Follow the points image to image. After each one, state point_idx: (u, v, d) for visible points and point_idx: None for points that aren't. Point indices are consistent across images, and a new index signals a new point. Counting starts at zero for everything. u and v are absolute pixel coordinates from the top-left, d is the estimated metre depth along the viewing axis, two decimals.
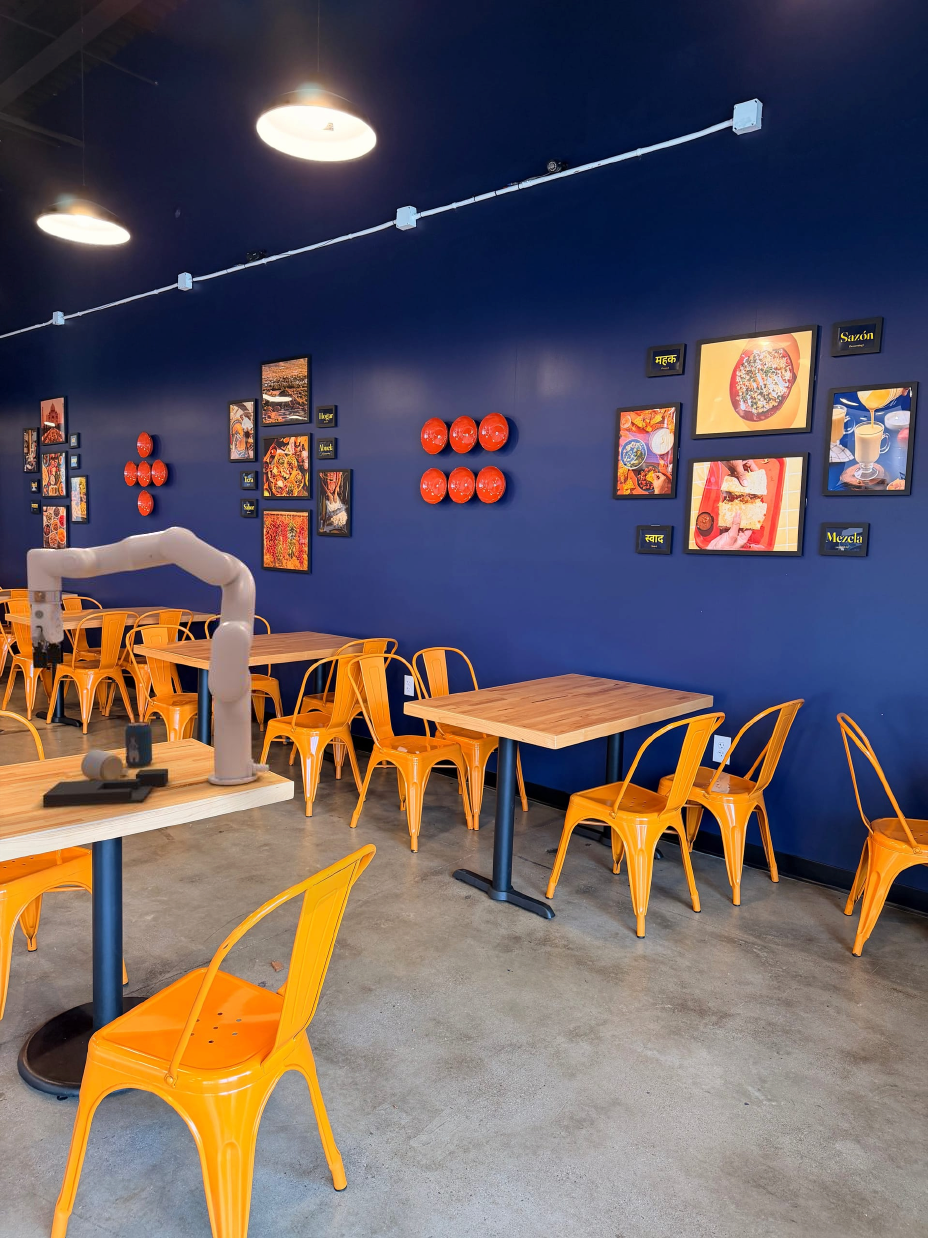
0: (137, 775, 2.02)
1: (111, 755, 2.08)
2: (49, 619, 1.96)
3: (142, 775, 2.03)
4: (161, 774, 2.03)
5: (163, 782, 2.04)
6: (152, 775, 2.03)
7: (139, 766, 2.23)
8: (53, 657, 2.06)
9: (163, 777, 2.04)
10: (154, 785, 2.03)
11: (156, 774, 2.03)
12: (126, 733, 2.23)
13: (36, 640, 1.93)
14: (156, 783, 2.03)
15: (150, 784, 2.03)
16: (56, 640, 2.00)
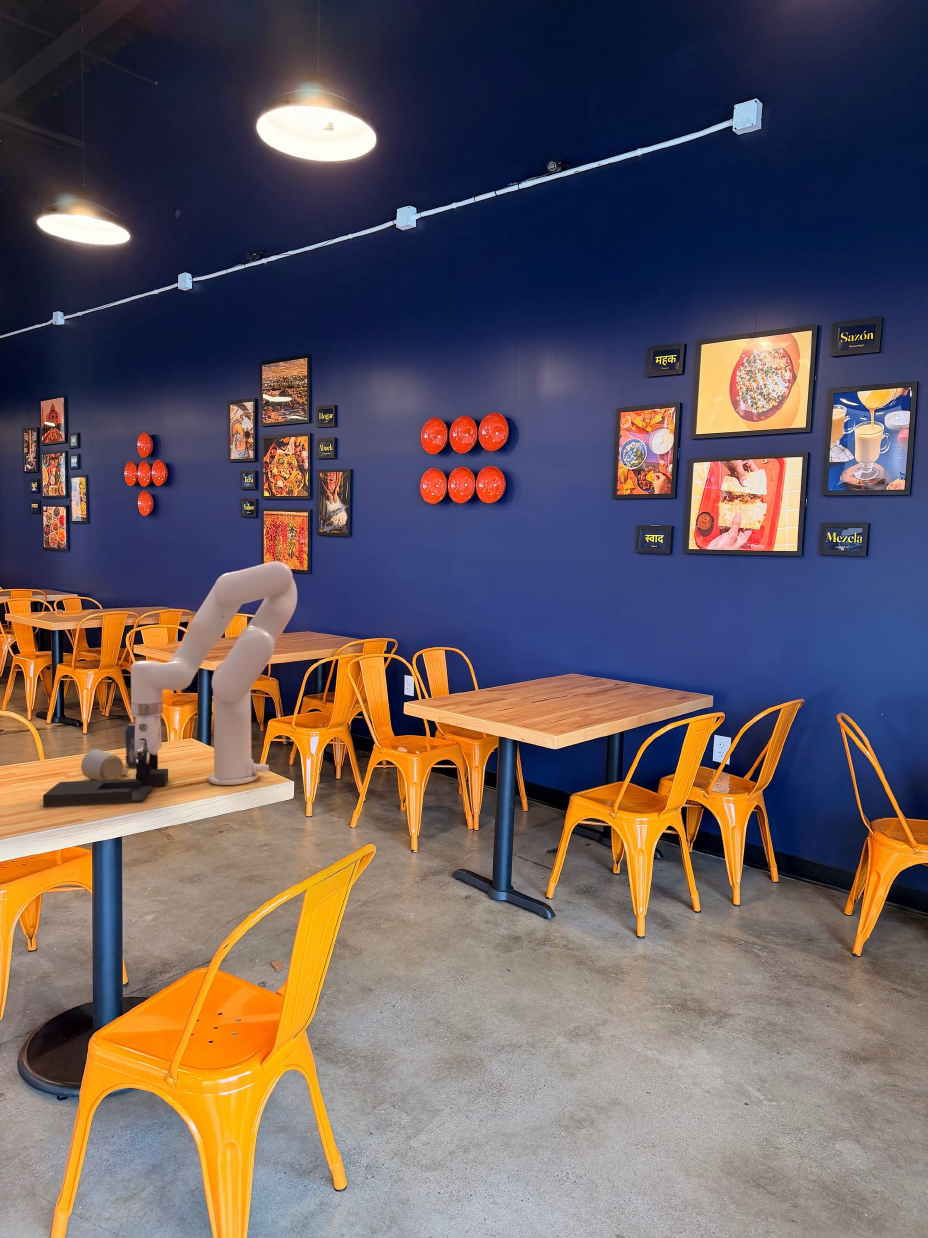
0: None
1: (111, 755, 2.08)
2: (152, 732, 2.00)
3: None
4: (161, 774, 2.03)
5: (163, 782, 2.04)
6: (152, 775, 2.03)
7: None
8: (151, 764, 2.09)
9: (163, 777, 2.04)
10: (154, 785, 2.03)
11: (156, 774, 2.03)
12: (126, 733, 2.23)
13: (141, 754, 1.97)
14: (156, 783, 2.03)
15: (150, 784, 2.03)
16: (157, 750, 2.04)
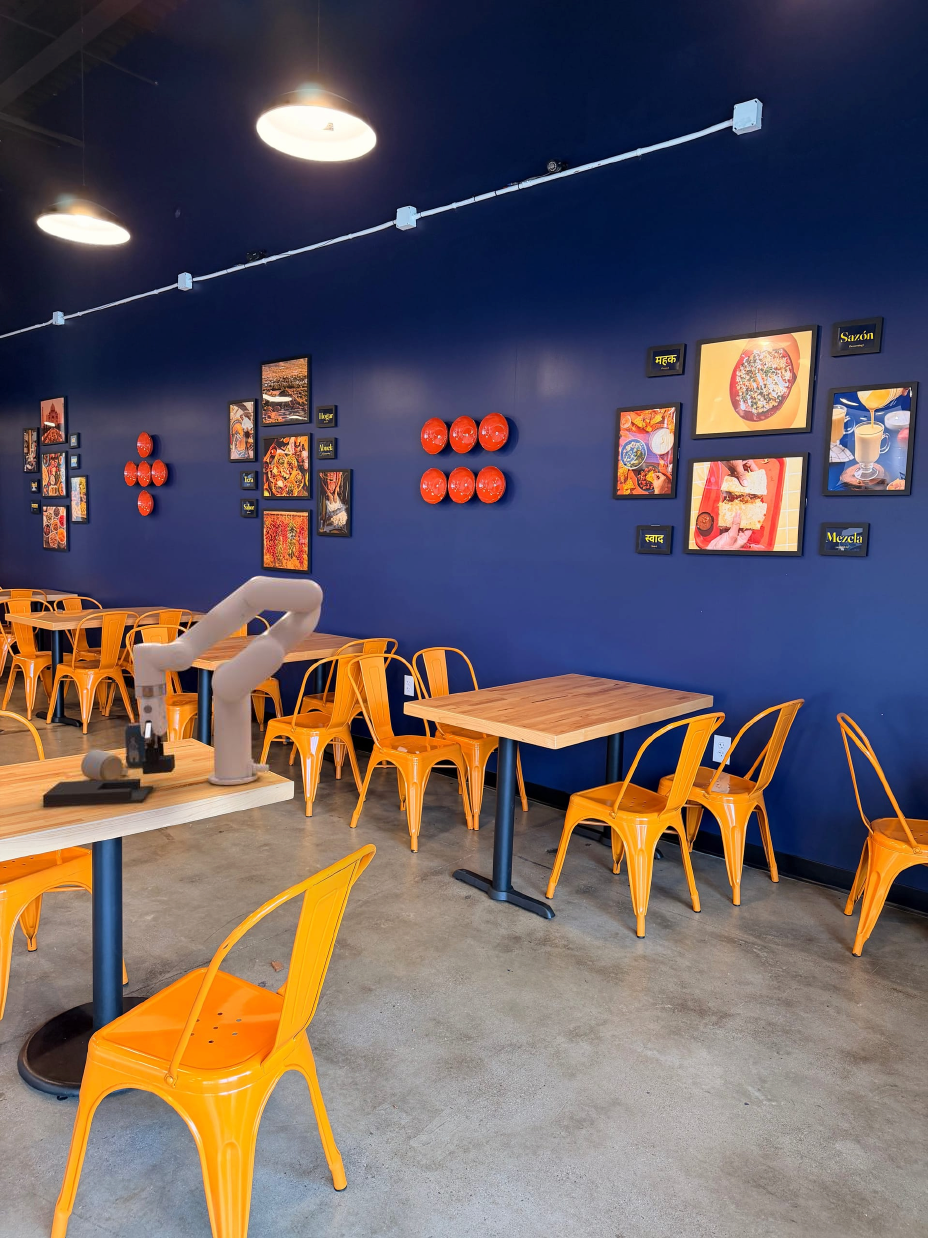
0: (143, 761, 2.03)
1: (111, 755, 2.08)
2: (157, 713, 2.00)
3: None
4: (167, 760, 2.04)
5: (170, 768, 2.04)
6: None
7: (139, 766, 2.23)
8: None
9: (170, 763, 2.04)
10: (161, 771, 2.03)
11: (162, 760, 2.03)
12: (126, 733, 2.23)
13: (149, 741, 1.99)
14: (162, 768, 2.03)
15: (157, 770, 2.03)
16: (163, 732, 2.04)
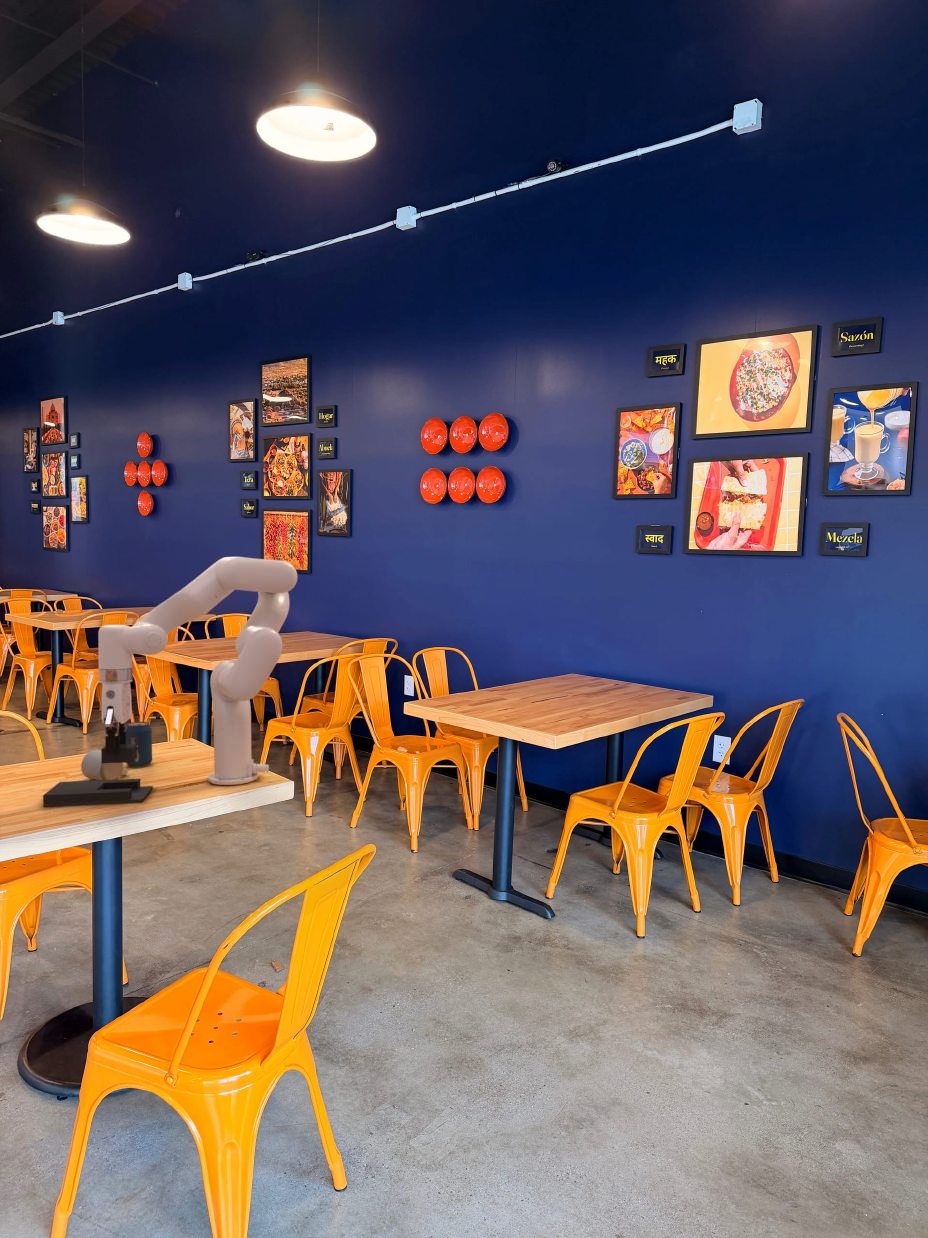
0: (103, 750, 1.91)
1: None
2: (120, 699, 1.89)
3: None
4: (128, 749, 1.92)
5: (130, 757, 1.92)
6: None
7: (139, 766, 2.23)
8: None
9: (131, 752, 1.92)
10: (121, 760, 1.92)
11: (123, 749, 1.92)
12: (126, 733, 2.23)
13: (110, 728, 1.87)
14: (123, 758, 1.92)
15: (117, 759, 1.92)
16: (126, 720, 1.93)
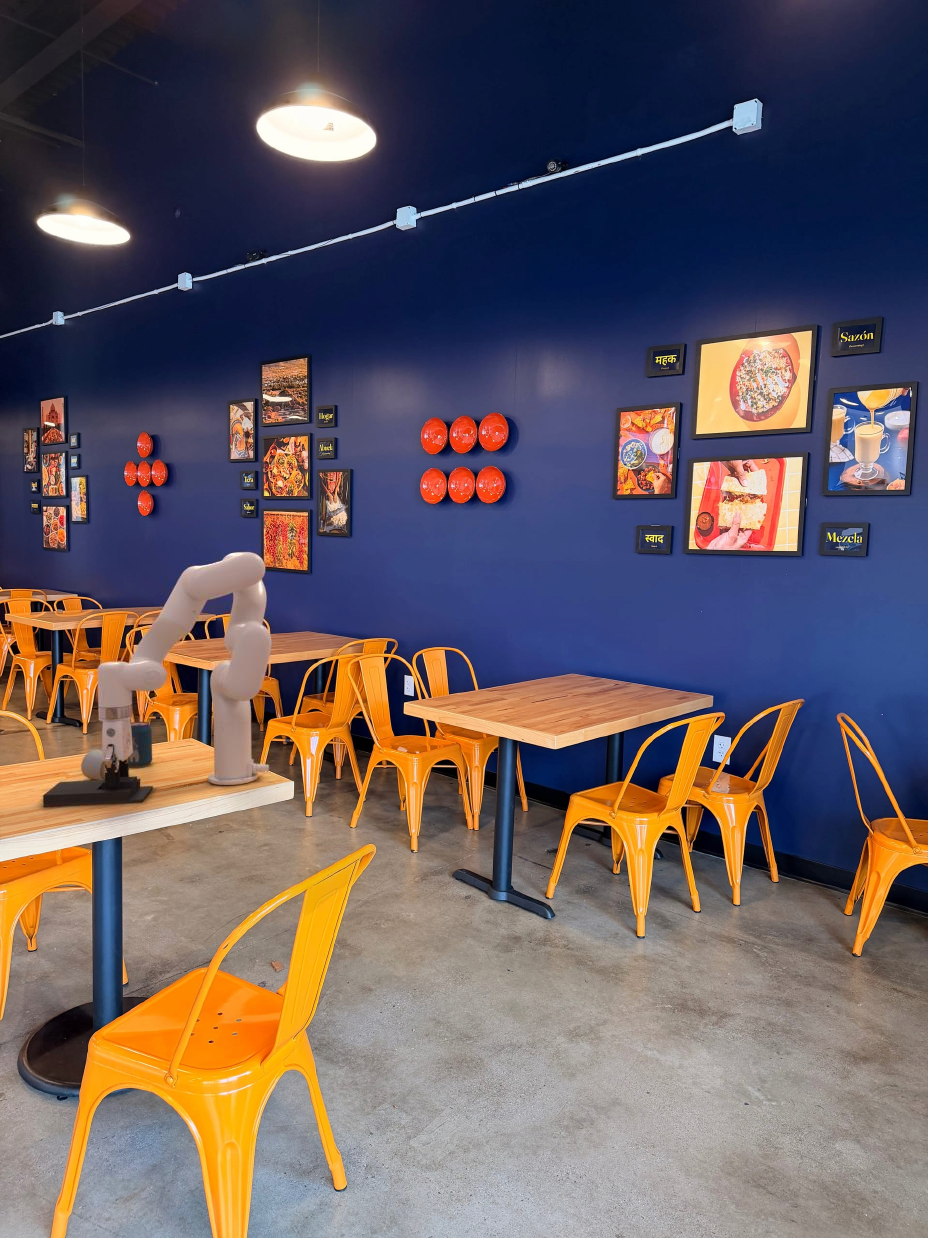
0: (103, 783, 1.91)
1: None
2: (121, 737, 1.90)
3: None
4: (129, 782, 1.92)
5: None
6: None
7: (139, 766, 2.23)
8: (121, 773, 1.98)
9: (131, 785, 1.93)
10: None
11: (123, 782, 1.92)
12: None
13: (109, 763, 1.86)
14: None
15: None
16: (127, 757, 1.93)
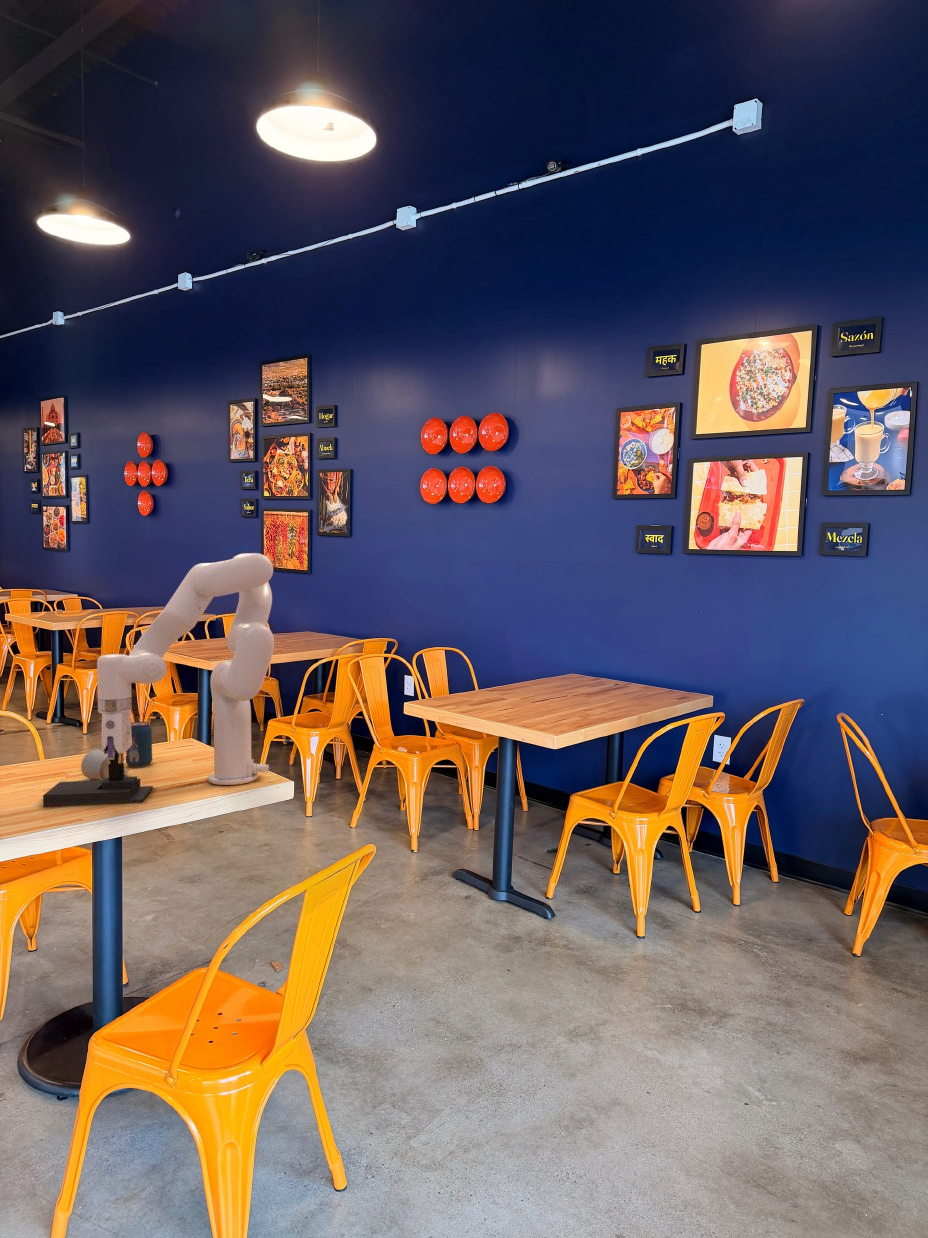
0: (103, 783, 1.91)
1: None
2: (120, 729, 1.89)
3: (108, 783, 1.92)
4: (129, 782, 1.92)
5: None
6: (119, 783, 1.92)
7: (139, 766, 2.23)
8: None
9: (131, 785, 1.93)
10: None
11: (123, 782, 1.92)
12: None
13: (113, 760, 1.90)
14: None
15: None
16: (126, 749, 1.93)
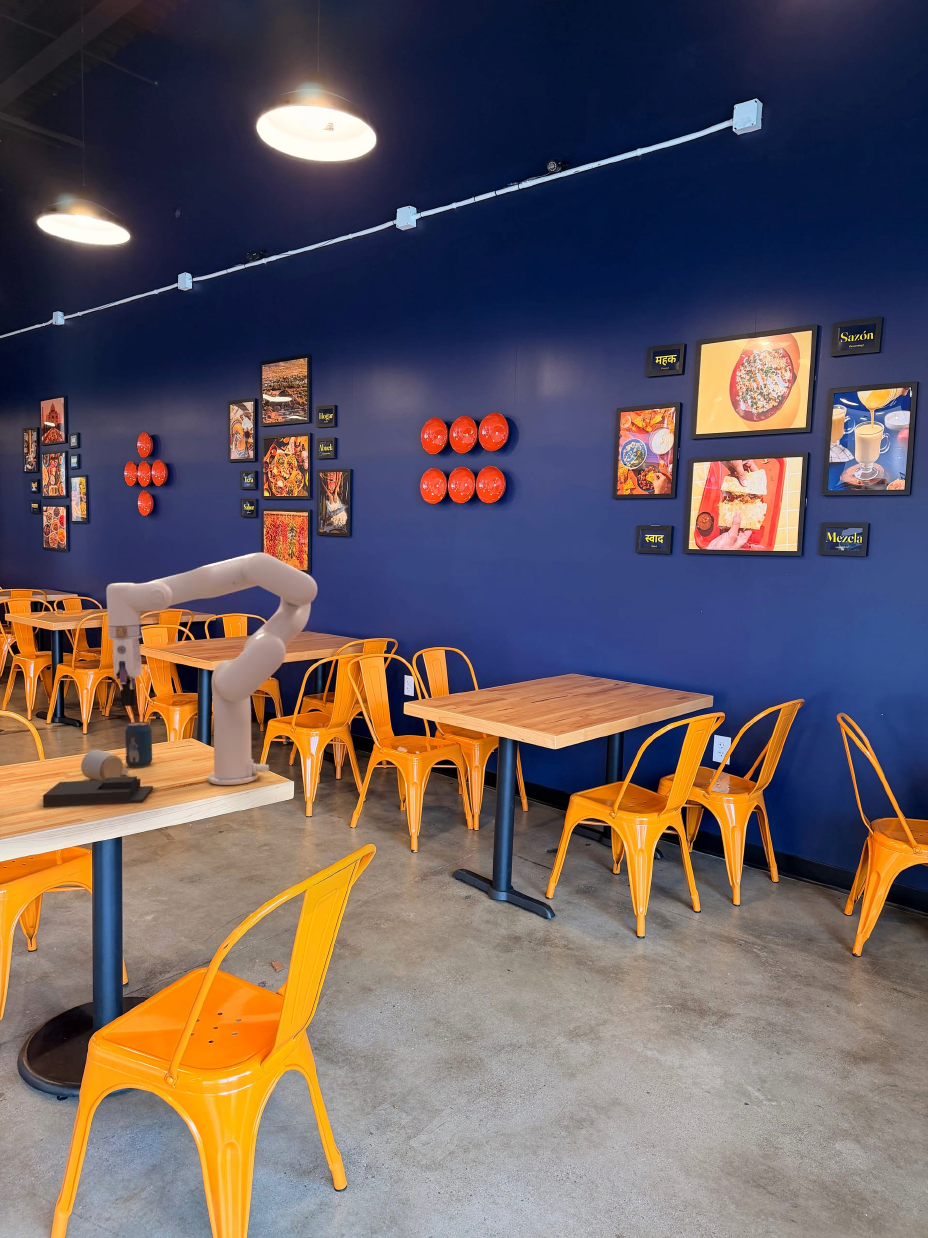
0: (103, 783, 1.91)
1: (111, 755, 2.08)
2: (132, 654, 1.95)
3: (108, 783, 1.92)
4: (129, 782, 1.92)
5: None
6: (119, 783, 1.92)
7: (139, 766, 2.23)
8: None
9: (131, 785, 1.93)
10: None
11: (123, 782, 1.92)
12: (126, 733, 2.23)
13: (125, 684, 1.95)
14: None
15: None
16: (137, 675, 1.98)
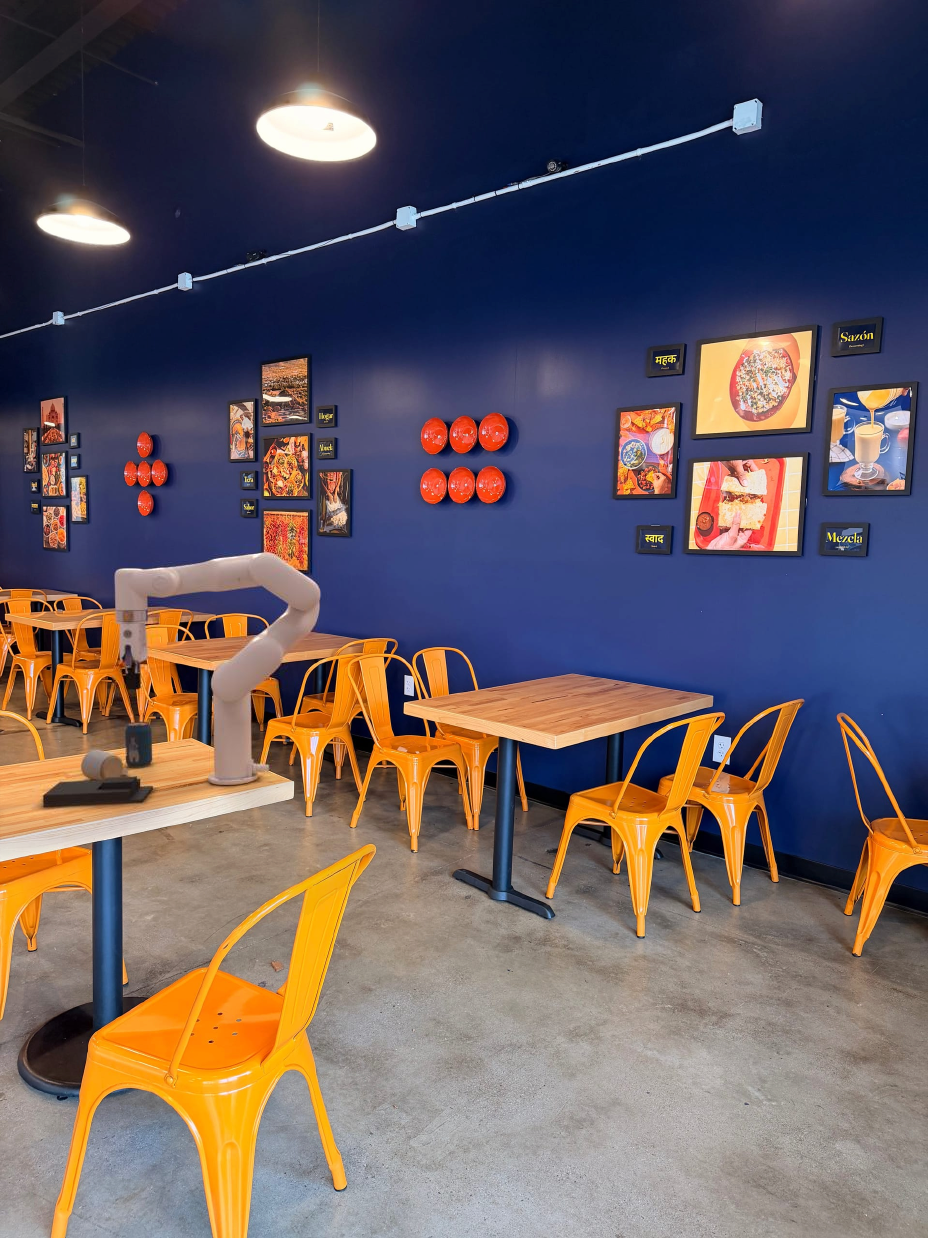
0: (103, 783, 1.91)
1: (111, 755, 2.08)
2: (137, 638, 1.98)
3: (108, 783, 1.92)
4: (129, 782, 1.92)
5: None
6: (119, 783, 1.92)
7: (139, 766, 2.23)
8: None
9: (131, 785, 1.93)
10: None
11: (123, 782, 1.92)
12: (126, 733, 2.23)
13: (130, 668, 1.99)
14: None
15: None
16: (143, 659, 2.02)
